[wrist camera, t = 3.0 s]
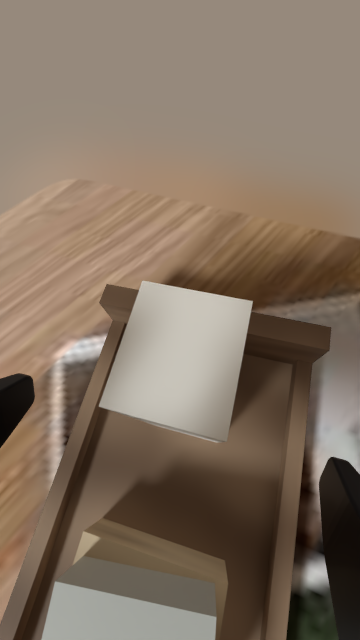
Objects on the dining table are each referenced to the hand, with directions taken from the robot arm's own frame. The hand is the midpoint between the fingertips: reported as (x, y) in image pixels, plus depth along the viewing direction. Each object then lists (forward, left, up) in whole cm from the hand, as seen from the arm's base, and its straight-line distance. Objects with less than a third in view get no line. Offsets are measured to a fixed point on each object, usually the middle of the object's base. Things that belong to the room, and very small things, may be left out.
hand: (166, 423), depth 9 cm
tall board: (+1, +1, -8) cm, 9 cm away
